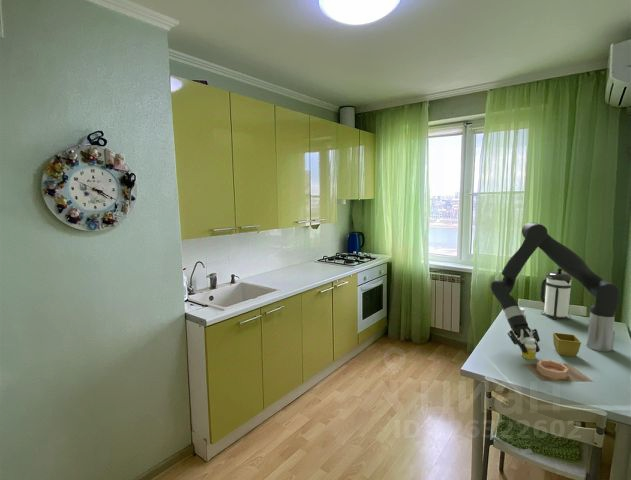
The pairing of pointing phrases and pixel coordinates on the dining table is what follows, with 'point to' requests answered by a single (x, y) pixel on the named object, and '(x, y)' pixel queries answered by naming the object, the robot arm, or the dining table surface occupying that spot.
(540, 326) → the dining table surface
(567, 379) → the walnut board
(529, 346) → the supplement bottle
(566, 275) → the coffee press
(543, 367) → the octagonal planter bowl
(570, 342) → the flower pot
